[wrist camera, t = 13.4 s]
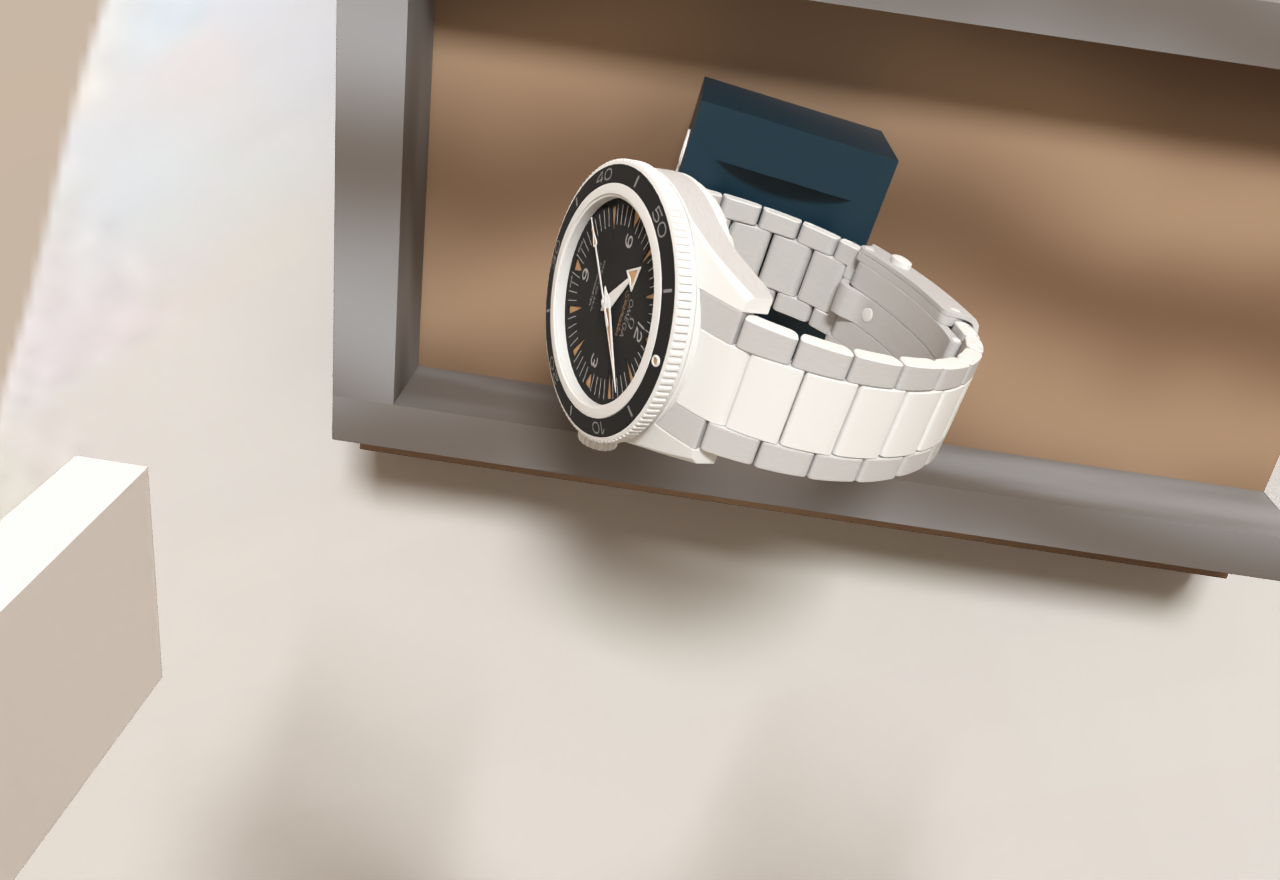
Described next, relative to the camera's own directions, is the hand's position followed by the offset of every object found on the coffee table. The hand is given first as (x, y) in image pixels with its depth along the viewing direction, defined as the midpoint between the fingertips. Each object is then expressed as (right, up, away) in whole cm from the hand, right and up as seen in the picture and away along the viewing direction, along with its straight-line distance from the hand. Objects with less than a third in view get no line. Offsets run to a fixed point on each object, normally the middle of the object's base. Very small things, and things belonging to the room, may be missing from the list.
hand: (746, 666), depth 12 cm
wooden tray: (+4, +8, +17) cm, 19 cm away
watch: (+2, +8, +16) cm, 18 cm away
